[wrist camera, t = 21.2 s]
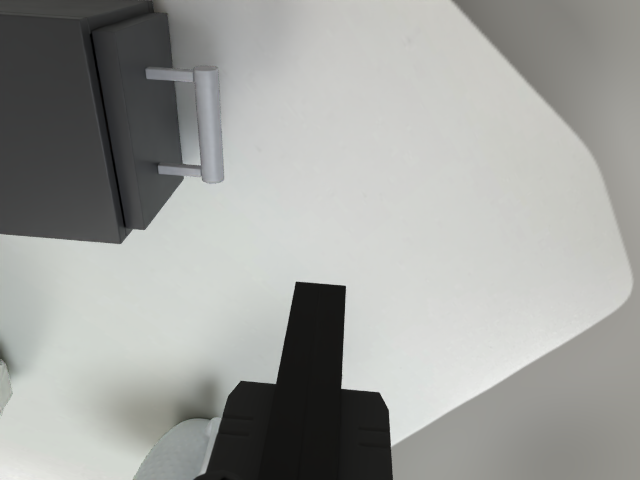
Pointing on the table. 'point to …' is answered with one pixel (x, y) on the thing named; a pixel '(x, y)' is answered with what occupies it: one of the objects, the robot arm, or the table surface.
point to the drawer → (152, 114)
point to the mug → (181, 451)
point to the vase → (4, 386)
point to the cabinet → (57, 121)
